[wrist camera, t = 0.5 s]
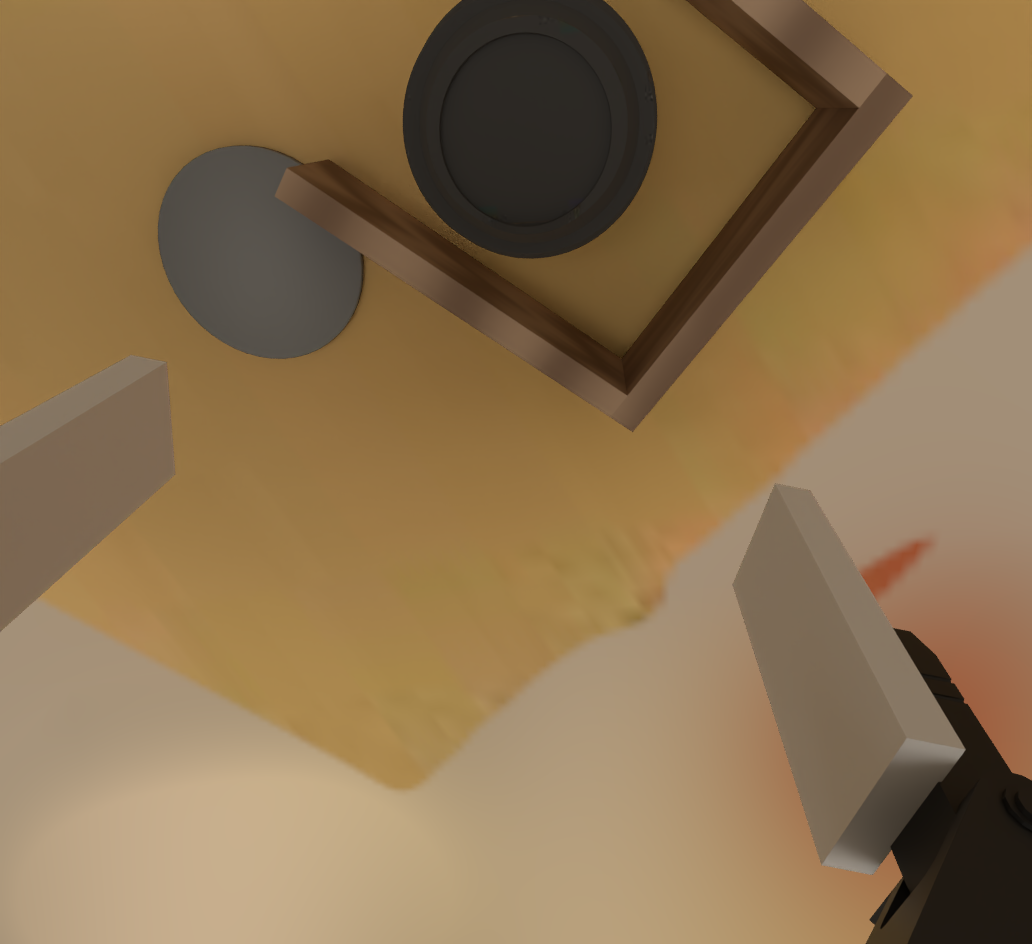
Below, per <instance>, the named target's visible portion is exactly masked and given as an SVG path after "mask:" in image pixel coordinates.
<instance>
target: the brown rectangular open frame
mask: <svg viewBox="0 0 1032 944" xmlns="http://www.w3.org/2000/svg"><path fill="white" fill-rule="evenodd" d="M686 1H688V2H689V3H690V4H691V5H693V6H694V7H695V8H696V9H697V10H699V11H700V12H701V13H702V14H703V15H705V16H706V17H707V18H708V19H709V20H711V21H712V22H713V23H714V24H715V25H717V26H718V27H719V28H720V29H722V30H723V31H724V32H725V33H726V34H728V35H729V36H730V37H731V38H732V39H734V40H735V41H736V42H737V43H738V44H740V45H741V46H742V47H743V48H744V49H746V50H747V51H748V52H749V53H751V54H752V55H753V56H754V57H755V58H757V59H758V60H759V61H760V62H761V63H763V64H764V65H765V66H766V67H767V68H769V69H770V70H771V71H772V72H773V73H775V74H776V75H777V76H778V77H780V78H781V79H782V80H783V81H784V82H786V83H787V84H788V85H789V86H790V87H792V88H793V89H794V90H795V91H796V92H798V93H799V94H800V95H801V96H802V97H804V98H805V99H806V100H807V101H809V102H810V103H811V104H812V105H813V106H815V107H816V109H815V111H814V112H813V113H812V114H811V116H810V117H809V118H808V120H807V121H806V122H805V124H804V125H803V126H802V127H801V129H800V130H799V131H798V133H797V134H796V135H795V136H794V138H793V139H792V140H791V142H790V143H789V144H788V145H787V147H786V148H785V149H784V151H783V152H782V153H781V154H780V156H779V157H778V158H777V160H776V161H775V162H774V163H773V165H772V166H771V167H770V169H769V170H768V171H767V172H766V174H765V175H764V176H763V178H762V179H761V180H760V182H759V183H758V184H757V185H756V187H755V188H754V189H753V191H752V192H751V193H750V194H749V196H748V197H747V198H746V200H745V201H744V202H743V203H742V205H741V206H740V207H739V209H738V210H737V211H736V212H735V214H734V215H733V216H732V218H731V219H730V220H729V221H728V223H727V224H726V225H725V227H724V228H723V229H722V231H721V232H720V233H719V234H718V236H717V237H716V238H715V240H714V241H713V242H712V243H711V245H710V246H709V247H708V249H707V250H706V251H705V252H704V254H703V255H702V256H701V258H700V259H699V260H698V261H697V263H696V264H695V265H694V267H693V268H692V269H691V270H690V272H689V273H688V274H687V276H686V277H685V278H684V279H683V281H682V282H681V283H680V285H679V286H678V287H677V289H676V290H675V291H674V292H673V294H672V295H671V296H670V298H669V299H668V300H667V301H666V303H665V304H664V305H663V307H662V308H661V309H660V310H659V312H658V313H657V314H656V316H655V317H654V318H653V319H652V321H651V322H650V323H649V325H648V326H647V327H646V328H645V330H644V331H643V332H642V334H641V335H640V336H639V337H638V339H637V340H636V341H635V343H634V344H633V345H632V347H631V348H630V349H629V350H628V352H627V353H626V354H625V356H624V357H623V358H622V359H621V358H619V357H618V356H616V355H615V354H614V353H612V352H611V351H609V350H608V349H606V348H605V347H603V346H602V345H600V344H599V343H597V342H596V341H594V340H593V339H591V338H590V337H589V336H587V335H586V334H584V333H583V332H581V331H580V330H578V329H577V328H575V327H574V326H572V325H571V324H569V323H568V322H567V321H565V320H564V319H562V318H561V317H559V316H558V315H556V314H555V313H553V312H552V311H550V310H549V309H547V308H546V307H545V306H543V305H542V304H540V303H539V302H537V301H536V300H534V299H533V298H531V297H530V296H528V295H527V294H525V293H524V292H522V291H521V290H520V289H518V288H517V287H515V286H514V285H512V284H511V283H509V282H508V281H506V280H505V279H503V278H502V277H500V276H499V275H498V274H496V273H495V272H493V271H492V270H490V269H489V268H487V267H486V266H484V265H483V264H481V263H480V262H478V261H477V260H476V259H474V258H473V257H471V256H470V255H468V254H467V253H465V252H464V251H462V250H461V249H459V248H458V247H456V246H455V245H453V244H452V243H451V242H449V241H448V240H446V239H445V238H443V237H442V236H440V235H439V234H437V233H436V232H434V231H433V230H431V229H430V228H429V227H427V226H426V225H424V224H423V223H421V222H420V221H418V220H417V219H415V218H414V217H412V216H411V215H409V214H408V213H407V212H405V211H404V210H402V209H401V208H399V207H398V206H396V205H395V204H393V203H392V202H390V201H389V200H387V199H386V198H384V197H383V196H382V195H380V194H379V193H377V192H376V191H374V190H373V189H371V188H370V187H368V186H367V185H365V184H364V183H362V182H361V181H360V180H358V179H357V178H355V177H354V176H352V175H351V174H349V173H348V172H346V171H345V170H343V169H342V168H340V167H339V166H338V165H336V164H335V163H333V162H332V161H330V160H324V161H319V162H314V163H309V164H304V165H298V166H293V167H288V168H286V171H285V173H284V175H283V178H282V180H281V182H280V185H279V187H278V189H277V192H276V194H275V197H276V198H278V199H279V200H281V201H282V202H284V203H285V204H287V205H289V206H290V207H292V208H293V209H295V210H296V211H298V212H299V213H301V214H302V215H304V216H305V217H307V218H308V219H310V220H311V221H313V222H314V223H316V224H317V225H319V226H320V227H322V228H323V229H325V230H327V231H328V232H330V233H331V234H333V235H334V236H336V237H337V238H339V239H340V240H342V241H343V242H345V243H346V244H348V245H349V246H351V247H352V248H354V249H355V250H357V251H358V252H360V253H361V254H363V255H365V256H366V257H368V258H369V259H371V260H372V261H374V262H375V263H377V264H378V265H380V266H381V267H383V268H384V269H386V270H387V271H389V272H390V273H392V274H393V275H395V276H396V277H398V278H399V279H401V280H403V281H404V282H406V283H407V284H409V285H410V286H412V287H413V288H415V289H416V290H418V291H419V292H421V293H422V294H424V295H425V296H427V297H428V298H430V299H431V300H433V301H434V302H436V303H437V304H439V305H441V306H442V307H444V308H445V309H447V310H448V311H450V312H451V313H453V314H454V315H456V316H457V317H459V318H460V319H462V320H463V321H465V322H466V323H468V324H469V325H471V326H472V327H474V328H475V329H477V330H479V331H480V332H482V333H483V334H485V335H486V336H488V337H489V338H491V339H492V340H494V341H495V342H497V343H498V344H500V345H501V346H503V347H504V348H506V349H507V350H509V351H510V352H512V353H513V354H515V355H517V356H518V357H520V358H521V359H523V360H524V361H526V362H527V363H529V364H530V365H532V366H533V367H535V368H536V369H538V370H539V371H541V372H542V373H544V374H545V375H547V376H548V377H550V378H551V379H553V380H555V381H556V382H558V383H559V384H561V385H562V386H564V387H565V388H567V389H568V390H570V391H571V392H573V393H574V394H576V395H577V396H579V397H580V398H582V399H583V400H585V401H586V402H588V403H589V404H591V405H593V406H594V407H596V408H597V409H599V410H600V411H602V412H603V413H605V414H606V415H608V416H609V417H611V418H612V419H614V420H615V421H617V422H618V423H620V424H621V425H623V426H624V427H626V428H627V429H629V430H631V431H632V432H633V431H634V430H635V428H636V427H637V426H638V425H639V424H640V422H641V421H642V420H643V419H644V418H645V416H646V415H647V414H648V413H649V412H650V410H651V409H652V408H653V407H654V406H655V404H656V403H657V402H658V401H659V400H660V398H661V397H662V396H663V395H664V394H665V392H666V391H667V390H668V389H669V388H670V386H671V385H672V384H673V383H674V382H675V380H676V379H677V378H678V377H679V376H680V374H681V373H682V372H683V371H684V370H685V368H686V367H687V366H688V365H689V364H690V363H691V361H692V360H693V359H694V358H695V357H696V355H697V354H698V353H699V352H700V351H701V349H702V348H703V347H704V346H705V345H706V343H707V342H708V341H709V340H710V339H711V337H712V336H713V335H714V334H715V333H716V331H717V330H718V329H719V328H720V327H721V325H722V324H723V323H724V322H725V321H726V319H727V318H728V317H729V316H730V315H731V313H732V312H733V311H734V310H735V309H736V307H737V306H738V305H739V304H740V303H741V301H742V300H743V299H744V298H745V297H746V295H747V294H748V293H749V292H750V291H751V289H752V288H753V287H754V286H755V285H756V283H757V282H758V281H759V280H760V279H761V277H762V276H763V275H764V274H765V273H766V271H767V270H768V269H769V268H770V267H771V265H772V264H773V263H774V262H775V261H776V259H777V258H778V257H779V256H780V255H781V253H782V252H783V251H784V250H785V249H786V247H787V246H788V245H789V244H790V243H791V241H792V240H793V239H794V238H795V237H796V235H797V234H798V233H799V232H800V231H801V229H802V228H803V227H804V226H805V225H806V223H807V222H808V221H809V220H810V219H811V217H812V216H813V215H814V214H815V213H816V211H817V210H818V209H819V208H820V207H821V206H822V204H823V203H824V202H825V201H826V200H827V198H828V197H829V196H830V195H831V194H832V192H833V191H834V190H835V189H836V188H837V186H838V185H839V184H840V183H841V182H842V180H843V179H844V178H845V177H846V176H847V174H848V173H849V172H850V171H851V170H852V168H853V167H854V166H855V165H856V164H857V162H858V161H859V160H860V159H861V158H862V156H863V155H864V154H865V153H866V152H867V150H868V149H869V148H870V147H871V146H872V144H873V143H874V142H875V141H876V140H877V138H878V137H879V136H880V135H881V134H882V132H883V131H884V130H885V129H886V128H887V126H888V125H889V124H890V123H891V122H892V120H893V119H894V118H895V117H896V116H897V114H898V113H899V112H900V111H901V110H902V108H903V107H904V106H905V105H906V104H907V102H908V101H909V100H910V99H911V98H912V95H911V94H910V93H909V92H908V91H907V90H905V89H904V88H903V87H902V86H901V85H900V84H898V83H897V82H896V81H895V80H894V79H893V78H892V77H890V76H889V75H888V74H887V73H886V72H885V71H883V70H882V69H881V68H880V67H879V66H878V65H876V64H875V63H874V62H873V61H872V60H871V59H870V58H868V57H867V56H866V55H865V54H864V53H863V52H861V51H860V50H859V49H858V48H857V47H856V46H855V45H853V44H852V43H851V42H850V41H849V40H848V39H846V38H845V37H844V36H843V35H842V34H841V33H839V32H838V31H837V30H836V29H835V28H834V27H833V26H831V25H830V24H829V23H828V22H827V21H826V20H824V19H823V18H822V17H821V16H820V15H819V14H817V13H816V12H815V11H814V10H813V9H812V8H811V7H809V6H808V5H807V4H806V3H805V2H804V1H802V0H686Z"/></svg>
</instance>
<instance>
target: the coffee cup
mask: <svg viewBox="0 0 1032 944" xmlns="http://www.w3.org/2000/svg"><path fill="white" fill-rule="evenodd" d="M656 129H657V103H656V94H655V88H654V83H653V78H652V74H651V71H650V68H649V65H648V62H647V59H646V57H645V54H644V52H643V50H642V48H641V46H640V44H639V42H638V40H637V39H636V37H635V35H634V34H633V32H632V31H631V29H630V28H629V26H628V25H627V24H626V23H625V21H624V20H623V19H622V18H621V17H620V15H619V14H618V13H617V12H616V11H615V10H614V9H613V8H612V7H610V6H609V5H608V4H607V3H606V2H605V1H603V0H462V1H461V2H459V3H458V4H457V5H456V6H455V7H454V8H452V9H451V10H450V11H449V12H448V13H447V14H446V15H445V17H444V18H443V19H442V20H441V21H440V22H439V24H438V25H437V26H436V28H435V29H434V30H433V32H432V33H431V35H430V36H429V38H428V40H427V42H426V43H425V45H424V47H423V49H422V51H421V52H420V54H419V56H418V58H417V60H416V62H415V65H414V67H413V70H412V72H411V75H410V78H409V82H408V85H407V89H406V94H405V100H404V108H403V135H404V144H405V149H406V154H407V158H408V162H409V165H410V168H411V171H412V174H413V176H414V178H415V181H416V183H417V185H418V187H419V189H420V191H421V192H422V194H423V196H424V197H425V199H426V200H427V202H428V203H429V205H430V206H431V207H432V209H433V210H434V211H435V212H436V213H437V215H438V216H439V217H440V218H441V219H442V220H443V221H444V222H445V223H446V224H447V225H449V226H450V227H451V228H452V229H453V230H455V231H456V232H457V233H459V234H460V235H462V236H463V237H465V238H466V239H468V240H470V241H471V242H473V243H475V244H476V245H478V246H480V247H482V248H485V249H487V250H489V251H492V252H495V253H498V254H501V255H505V256H510V257H516V258H544V257H551V256H556V255H560V254H563V253H566V252H569V251H572V250H574V249H577V248H579V247H581V246H583V245H585V244H587V243H589V242H590V241H592V240H593V239H595V238H596V237H598V236H599V235H600V234H602V233H603V232H604V231H606V230H607V229H608V228H609V227H610V226H611V225H612V224H613V223H614V222H615V221H616V220H617V219H618V218H619V217H620V216H621V215H622V214H623V212H624V211H625V210H626V209H627V207H628V206H629V205H630V203H631V202H632V200H633V199H634V197H635V195H636V194H637V192H638V190H639V188H640V186H641V184H642V182H643V180H644V177H645V175H646V173H647V170H648V167H649V164H650V161H651V157H652V153H653V149H654V144H655V138H656Z"/></svg>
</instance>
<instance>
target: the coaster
mask: <svg viewBox="0 0 1032 944" xmlns="http://www.w3.org/2000/svg"><path fill="white" fill-rule="evenodd" d="M298 165H304V164H302V163H300V162H299V161H297V160H295V159H294V158H292V157H290V156H287V155H285V154H283V153H280V152H278V151H275V150H271V149H267V148H264V147H256V146H230V147H224V148H218V149H215V150H212V151H209V152H206V153H204V154H202V155H200V156H199V157H197V158H195V159H193V160H192V161H191V162H190V163H188V164H187V165H186V166H184V167H183V169H182V170H181V171H180V172H179V173H178V174H177V175H176V176H175V178H174V179H173V181H172V182H171V184H170V186H169V187H168V189H167V192H166V194H165V196H164V198H163V202H162V205H161V209H160V214H159V222H158V241H159V249H160V255H161V259H162V263H163V267H164V269H165V272H166V275H167V277H168V280H169V282H170V284H171V286H172V288H173V290H174V292H175V294H176V295H177V297H178V298H179V300H180V301H181V303H182V304H183V306H184V307H185V308H186V310H187V311H188V312H189V313H190V315H191V316H192V317H193V318H194V319H195V320H196V321H197V322H198V323H199V324H200V325H201V326H202V327H203V328H204V329H206V330H207V331H208V332H209V333H210V334H212V335H213V336H215V337H216V338H218V339H219V340H221V341H222V342H224V343H225V344H227V345H229V346H231V347H233V348H235V349H237V350H240V351H242V352H245V353H248V354H251V355H255V356H259V357H265V358H278V359H285V358H293V357H298V356H302V355H306V354H309V353H311V352H313V351H316V350H318V349H320V348H321V347H323V346H324V345H326V344H328V343H329V342H330V341H331V340H332V339H334V338H335V337H336V336H337V335H338V334H339V333H340V332H341V331H342V330H343V329H344V327H345V326H346V325H347V324H348V322H349V320H350V319H351V317H352V316H353V314H354V312H355V309H356V307H357V305H358V302H359V299H360V295H361V291H362V284H363V257H362V254H361V253H360V252H358V251H357V250H355V249H354V248H352V247H351V246H349V245H348V244H346V243H345V242H343V241H342V240H340V239H339V238H337V237H336V236H334V235H333V234H331V233H330V232H328V231H327V230H325V229H323V228H322V227H320V226H319V225H317V224H316V223H314V222H313V221H311V220H310V219H308V218H307V217H305V216H304V215H302V214H301V213H299V212H298V211H296V210H295V209H293V208H292V207H290V206H289V205H287V204H285V203H284V202H282V201H281V200H279V199H278V198H276V197H275V194H276V192H277V189H278V187H279V185H280V182H281V180H282V178H283V175H284V173H285V171H286V168H288V167H293V166H298Z"/></svg>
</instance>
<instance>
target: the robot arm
mask: <svg viewBox="0 0 1032 944" xmlns="http://www.w3.org/2000/svg"><path fill="white" fill-rule="evenodd" d="M174 475H175V464H174V451H173V438H172V424H171V411H170V398H169V385H168V372H167V362H164V361H159V360H154V359H149V358H143V357H138V356H133V355H130V356H128V357H126V358H125V359H123V360H121V361H119V362H117V363H115V364H114V365H112V366H110V367H108V368H106V369H104V370H103V371H101V372H99V373H97V374H95V375H93V376H92V377H90V378H88V379H86V380H84V381H82V382H81V383H79V384H77V385H75V386H73V387H71V388H70V389H68V390H66V391H64V392H62V393H60V394H59V395H57V396H55V397H53V398H51V399H49V400H48V401H46V402H44V403H42V404H40V405H38V406H37V407H35V408H33V409H31V410H29V411H27V412H26V413H24V414H22V415H20V416H18V417H16V418H15V419H13V420H11V421H9V422H7V423H5V424H4V425H2V426H0V632H1V631H2V630H3V629H4V628H5V627H6V626H7V625H8V624H9V623H11V622H12V621H13V620H14V619H15V618H16V617H17V616H18V615H19V614H21V613H22V612H23V611H24V610H25V609H26V608H27V607H28V606H29V605H31V604H32V603H33V602H34V601H35V600H36V599H37V598H38V597H40V596H41V595H42V594H43V593H44V592H45V591H46V590H47V589H48V588H50V587H51V586H52V585H53V584H54V583H55V582H56V581H57V580H58V579H60V578H61V577H62V576H63V575H64V574H65V573H66V572H67V571H68V570H70V569H71V568H72V567H73V566H74V565H75V564H76V563H77V562H78V561H80V560H81V559H82V558H83V557H84V556H85V555H86V554H87V553H88V552H90V551H91V550H92V549H93V548H94V547H95V546H96V545H97V544H98V543H100V542H101V541H102V540H103V539H104V538H105V537H106V536H107V535H108V534H110V533H111V532H112V531H113V530H114V529H115V528H116V527H117V526H118V525H120V524H121V523H122V522H123V521H124V520H125V519H126V518H127V517H129V516H130V515H131V514H132V513H133V512H134V511H135V510H136V509H137V508H139V507H140V506H141V505H142V504H143V503H144V502H145V501H146V500H147V499H149V498H150V497H151V496H152V495H153V494H154V493H155V492H156V491H157V490H159V489H160V488H161V487H162V486H163V485H164V484H165V483H166V482H167V481H169V480H170V479H171V478H172V477H173V476H174ZM733 587H734V590H735V594H736V597H737V600H738V603H739V606H740V609H741V613H742V616H743V619H744V622H745V625H746V628H747V632H748V635H749V638H750V641H751V644H752V647H753V650H754V654H755V657H756V660H757V663H758V666H759V669H760V673H761V676H762V678H763V682H764V685H765V688H766V692H767V695H768V698H769V701H770V704H771V707H772V710H773V714H774V716H775V720H776V723H777V726H778V729H779V733H780V736H781V739H782V742H783V745H784V748H785V751H786V754H787V758H788V761H789V764H790V767H791V770H792V774H793V776H794V780H795V783H796V786H797V789H798V792H799V796H800V799H801V802H802V805H803V808H804V811H805V815H806V818H807V821H808V824H809V827H810V830H811V834H812V837H813V840H814V843H815V846H816V849H817V852H818V855H819V858H820V862H821V865H824V866H829V867H834V868H839V869H845V870H850V871H856V872H860V873H865V874H870V875H873V874H874V872H875V871H876V870H877V869H878V867H879V866H880V864H881V863H882V862H883V860H884V859H885V858H886V856H887V855H888V854H889V852H890V851H891V850H892V851H893V854H894V856H895V859H896V861H897V864H898V866H899V868H900V871H901V873H902V876H903V877H902V879H901V880H900V881H899V883H898V884H897V885H896V887H895V888H894V889H893V890H892V891H891V893H890V894H889V895H888V897H887V898H886V899H885V900H884V902H883V903H882V904H881V906H880V907H879V908H878V909H877V911H876V912H875V913H874V915H873V916H872V917H871V918H870V921H871V922H872V923H873V924H875V927H874V929H873V931H872V932H871V934H870V936H869V938H868V940H867V943H866V944H1032V781H1031V780H1030V779H1028V778H1026V777H1024V776H1022V775H1018V774H1014V773H1012V772H1011V771H1010V769H1009V767H1008V766H1007V764H1006V763H1005V761H1004V760H1003V758H1002V756H1001V755H1000V753H999V752H998V750H997V749H996V747H995V746H994V744H993V743H992V741H991V740H990V738H989V737H988V735H987V733H986V732H985V730H984V729H983V727H982V726H981V724H980V723H979V721H978V719H977V718H976V716H975V715H974V713H973V712H972V710H971V709H970V707H969V706H968V704H965V703H964V698H963V696H962V695H961V693H960V692H959V690H958V689H957V687H956V686H955V684H953V683H951V678H950V676H949V675H948V673H947V672H946V670H945V669H944V667H943V665H942V664H941V662H940V661H939V659H938V658H937V656H936V655H935V654H934V653H933V652H932V651H931V650H930V649H929V648H928V647H927V646H925V645H924V644H923V643H922V642H921V641H920V640H919V639H918V638H917V637H916V636H915V635H914V634H913V633H911V632H909V631H905V630H900V629H895V628H893V627H892V626H891V624H890V622H889V621H888V619H887V617H886V616H885V614H884V613H883V611H882V609H881V607H880V606H879V604H878V602H877V601H876V599H875V597H874V596H873V594H872V592H871V591H870V589H869V587H868V586H867V584H866V582H865V581H864V579H863V577H862V576H861V574H860V572H859V571H858V569H857V567H856V566H855V564H854V562H853V561H852V559H851V558H850V556H849V554H848V552H847V551H846V549H845V548H844V546H843V544H842V542H841V541H840V539H839V537H838V536H837V534H836V532H835V531H834V529H833V527H832V526H831V524H830V523H829V521H828V519H827V517H826V516H825V514H824V512H823V511H822V509H821V507H820V506H819V504H818V502H817V501H816V499H815V497H814V496H813V494H812V492H811V491H810V490H806V489H801V488H796V487H791V486H786V485H781V484H776V483H775V485H774V487H773V490H772V492H771V494H770V497H769V499H768V502H767V504H766V506H765V509H764V511H763V514H762V516H761V519H760V521H759V523H758V525H757V528H756V530H755V533H754V535H753V537H752V540H751V542H750V544H749V547H748V549H747V552H746V554H745V556H744V559H743V561H742V563H741V566H740V568H739V571H738V573H737V575H736V578H735V580H734V583H733Z"/></svg>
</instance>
